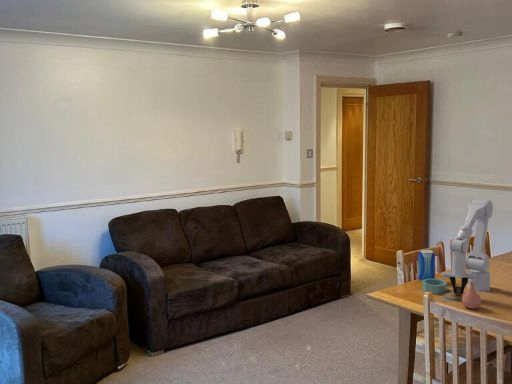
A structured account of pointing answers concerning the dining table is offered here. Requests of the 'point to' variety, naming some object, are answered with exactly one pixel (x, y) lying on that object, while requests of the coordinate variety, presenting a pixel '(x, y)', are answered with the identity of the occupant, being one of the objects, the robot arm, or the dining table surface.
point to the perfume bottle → (471, 298)
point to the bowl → (434, 286)
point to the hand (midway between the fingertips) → (458, 293)
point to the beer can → (426, 265)
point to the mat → (448, 299)
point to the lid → (453, 296)
